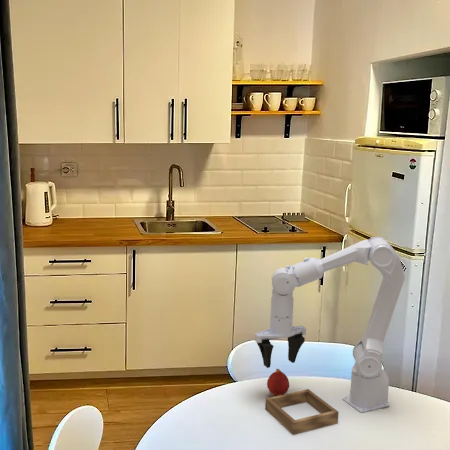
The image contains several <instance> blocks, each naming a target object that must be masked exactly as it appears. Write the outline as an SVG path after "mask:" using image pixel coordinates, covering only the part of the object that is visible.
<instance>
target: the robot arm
mask: <svg viewBox="0 0 450 450" xmlns="http://www.w3.org/2000/svg"><path fill="white" fill-rule="evenodd" d="M400 258H401V257H400V255H399V254H398V253H397V252H396V250H395V249H394V248H393V246H392V245H391V244H390V243H389V241H388V240H387V239H386V238H385V237H382V236H377V235H376V236H373V237H370V238H369V239H364V240H363V239H362V240H361V241H359V242H356V243H354V244H352V245H350V246H347V247H345V248H343V249H341V250H338V251H336V252H334V253H331V254H329V255H327V256H325V257H323V258H321V259H320V258H317V257H314V256H312V257H310V258H309V256H306V257H303V260H302V261H300V262H297V263H294V264H293V265H291V264H287V265H286V266H285V267H279V268H277V269H276V270H275V271H274V272H273V274H272V276H271V286H272V290H271V298H270V299H271V300H270V318H269V319H270V320H269V321H270V322H269V328H267V329H265V330H263V331H260V332H256V333H254V341H255V342H256V343H257V344H256V345H257V347H258V348H259V351H260V354H261V357H262V362H263V366H265V368H267V369H269V368H270V367H271V365H272V364H271V363H272V362H271V361H272V353H273V349H274V346H275V345H274V344H272V343H271V341H272V340H278V339H287V344H288V352H287V358H288V359H287V360H288V361H289V362H290V363H291V364H294V363H295V362H296V359H297V357H298V353H299V352H300V349H301V347H302V345H303V344H304V343H305V342H306V341H305V340H306V338H305V336H306V334H307V328H306V327H305V326H303V325H299V326H298V325H295V326H293V321H294V320H293V317H294V316H293V314H294V301H295V300H294V296H293V294H294V291H295V289H296V288H299V287H301V286H302V287H303V286H305V285H307V284H309V283H310V284H311V283H313V282H315V281H317V280H320V279H322V278H323V276H324V275H325V272H329V271H331V270H333V269H334V270H335V269H337V268H340V267H342V266H343V267H344V266H345V265H349V264H351V263H358V264H362V265H366V266H367V265H369V261H370V264H371V265H372V266H373V267H374V268H376V269H377V271H379V272H380V275H381V276H382V279H381V283H380V286H379V289H378V292H377V295H376V298H375V301H374V304H373V307H372V310H371V313H370V316H369V318H368V321H367V322H368V323H367V325H366V328H365V331H364V333H363V334H362V335H361V336H360V339H359V341H358V342H357V343H356V344H354V345H355V346H354V347H353V349H352V356H353V359H354V362H355V363H354V364H353V366H352V368H351V375H350V376H351V380H350V391H349V395H348V396H345V397H342V400H343V402H345V403H347V404H348V405H350V406H351V407H352V408H353V409H355V410H356V411H358V412H359V413H362V414H363V413H367V412H372V411H375V410H378V409H382V408H383V409H384V408H387V407H389V406H390V403H389V402H388V398H389V387H390V378H389V376H388V374H387V371H386V370H384V369H383V364H382V363H383V362H382V357H383V352H384V341H385V339H386V335H387V332H388V329H389V326H390V324H391V321H392V317H393V314H394V311H395V309H396V305H397V302H398V299H399V296H400V293H401V291H402V288H403V285H404V282H405V279H406V278H405V273H404V270H403V265H402V262H401V259H400Z"/></svg>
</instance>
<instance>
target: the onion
mask: <svg viewBox="0 0 450 450" xmlns="http://www.w3.org/2000/svg"><path fill="white" fill-rule="evenodd" d="M266 385H267V390H268V391H269V392H270V393H271V394H272V395H274V396H273V397H275V396H279V395H284V394H287V392H288V391H289V389H290V381H289V378H288V376H287V375H286V374H285V373H284V372H282V371H281V370H280V369H279V368H276V369H275V371H274V372H273V373H271V374H270V375H269V377H268V379H267V382H266Z"/></svg>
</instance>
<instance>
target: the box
mask: <svg viewBox="0 0 450 450" xmlns="http://www.w3.org/2000/svg"><path fill="white" fill-rule="evenodd" d="M304 403H307V404H308V405H310V406H311V407H313V408H314V409H315V410H316V411H318V412H319V413H318V414H315V415H310V416H306V417H302V418H299V419H295V418H293V417H292V415H290V414H289V413H287V411H285V410H284V409H283V408H286V407H291V406H295V405H300V404H304ZM264 407H265V409H264V410H266V412H267V413H268V414H270V415H271V416H272V417H273V418H274V419H275V420H276V421H278V422H279V424H280V425H282V426H283V427H284V428H285V429H286V430H287V431H288V432H289V433H291V435H292V436H293V435H297V434H301V433H305V432H308V431H313V430H317V429H321V428H325V427H328V426H332V425H335V424H338V423H339V415H340V414H339V411H338V410H337V409H336V408H334V407H333V406H331V405H330V404H329V403H327V402H326V401H325V400H323V398H321V397H319V395H317V394H315V393H314V392H313V391H312V390H311V389H309V388H308V389H302V390H297V391H294V392H288V393H285V394H284V395H279V396H272V397H267V398H265V406H264Z"/></svg>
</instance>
